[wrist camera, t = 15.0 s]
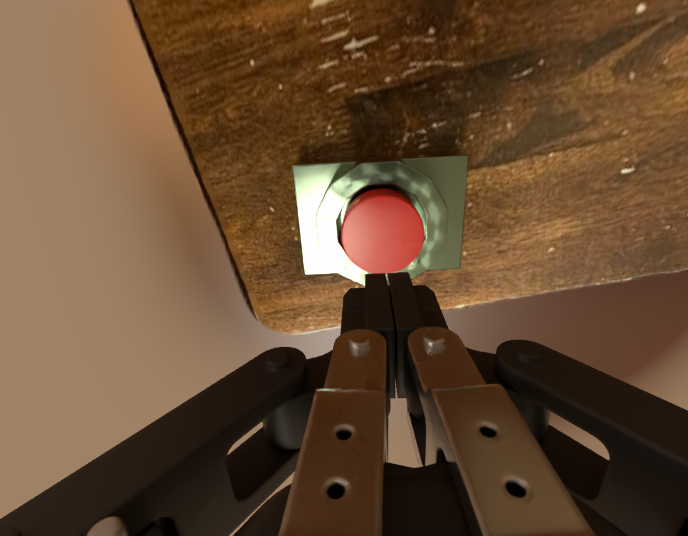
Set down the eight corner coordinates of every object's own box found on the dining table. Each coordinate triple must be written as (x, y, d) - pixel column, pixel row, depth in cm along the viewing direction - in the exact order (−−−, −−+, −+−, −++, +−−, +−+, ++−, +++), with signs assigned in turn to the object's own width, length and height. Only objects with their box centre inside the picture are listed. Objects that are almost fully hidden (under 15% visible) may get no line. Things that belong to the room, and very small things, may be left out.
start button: (344, 263, 22) (343, 276, 21) (339, 190, 20) (338, 197, 19) (419, 261, 22) (423, 273, 20) (420, 185, 20) (426, 193, 19)
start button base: (308, 264, 26) (300, 290, 23) (297, 157, 23) (285, 167, 20) (453, 258, 26) (467, 284, 22) (459, 147, 23) (478, 156, 19)
